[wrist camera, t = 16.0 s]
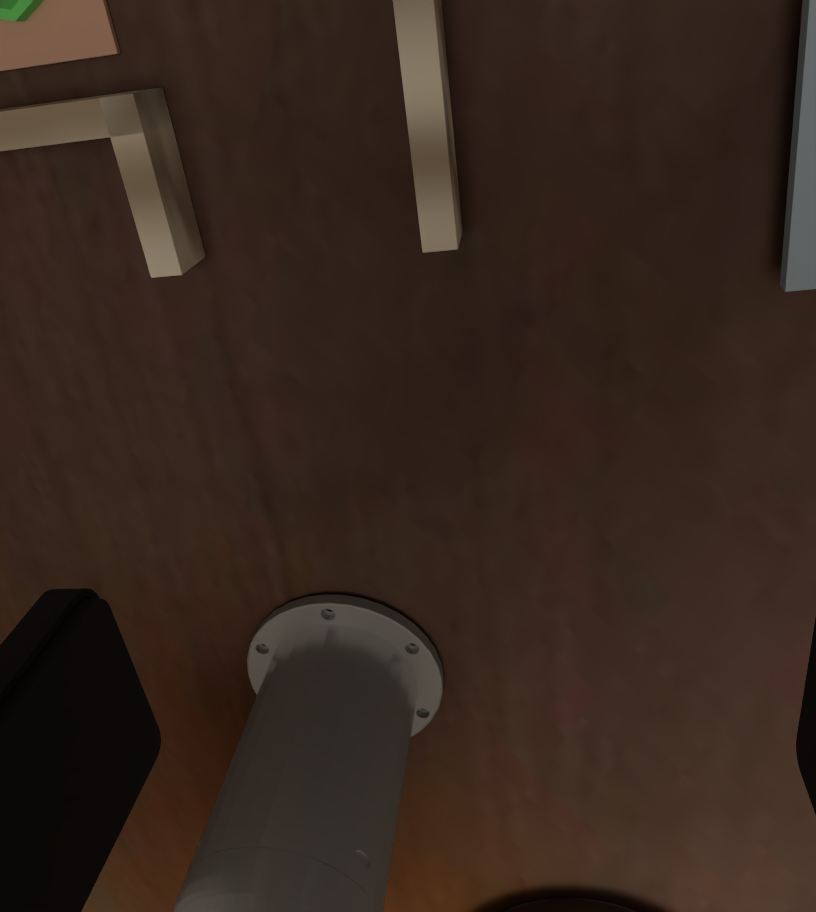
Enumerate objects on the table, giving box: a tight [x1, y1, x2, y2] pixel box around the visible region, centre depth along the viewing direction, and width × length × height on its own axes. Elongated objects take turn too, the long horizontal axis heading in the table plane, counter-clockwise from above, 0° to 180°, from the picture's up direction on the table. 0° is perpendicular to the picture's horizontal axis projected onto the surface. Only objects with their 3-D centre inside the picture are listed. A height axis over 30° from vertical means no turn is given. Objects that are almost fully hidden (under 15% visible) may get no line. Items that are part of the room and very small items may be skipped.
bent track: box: [0, 0, 463, 278], centre depth 31 cm, size 20×23×3 cm
